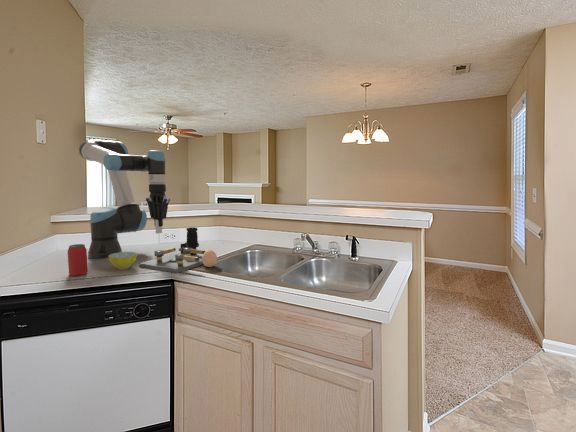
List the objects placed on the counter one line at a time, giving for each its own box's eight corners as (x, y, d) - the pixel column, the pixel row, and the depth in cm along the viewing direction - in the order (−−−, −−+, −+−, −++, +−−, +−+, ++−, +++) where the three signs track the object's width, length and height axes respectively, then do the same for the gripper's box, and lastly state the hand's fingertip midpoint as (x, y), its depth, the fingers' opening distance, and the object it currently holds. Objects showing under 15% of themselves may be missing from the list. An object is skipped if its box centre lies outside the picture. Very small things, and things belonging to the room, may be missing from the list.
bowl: (106, 272, 141) (105, 258, 140) (112, 265, 152) (111, 252, 151) (135, 271, 144) (134, 256, 143) (139, 264, 155) (138, 251, 154)
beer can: (91, 272, 142) (89, 243, 140) (82, 276, 135) (80, 247, 134) (75, 271, 141) (73, 243, 140) (65, 276, 135) (63, 247, 133)
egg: (220, 267, 152) (219, 249, 151) (206, 269, 148) (206, 252, 147) (212, 264, 157) (212, 247, 156) (199, 266, 153) (199, 249, 152)
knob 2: (173, 265, 147) (173, 255, 146) (179, 263, 150) (179, 253, 150) (196, 269, 142) (195, 258, 141) (202, 266, 145) (201, 256, 145)
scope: (187, 226, 181) (203, 227, 177) (188, 251, 182) (203, 253, 178) (177, 228, 173) (193, 229, 169) (178, 254, 175) (193, 256, 171)
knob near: (159, 262, 151) (159, 252, 151) (152, 261, 153) (152, 251, 152) (178, 257, 162) (178, 247, 162) (172, 256, 164) (171, 246, 163)
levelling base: (139, 266, 151) (139, 261, 151) (171, 257, 169) (171, 252, 169) (177, 272, 142) (177, 267, 142) (207, 262, 160) (207, 257, 160)
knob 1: (181, 258, 160) (181, 248, 159) (187, 256, 164) (187, 247, 163) (202, 261, 155) (202, 251, 155) (207, 259, 159) (207, 249, 158)
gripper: (140, 183, 158) (142, 233, 161) (161, 183, 153) (163, 235, 155) (152, 183, 165) (154, 231, 167) (173, 183, 160) (175, 232, 162)
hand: (158, 233), depth 161 cm, fingers closed
